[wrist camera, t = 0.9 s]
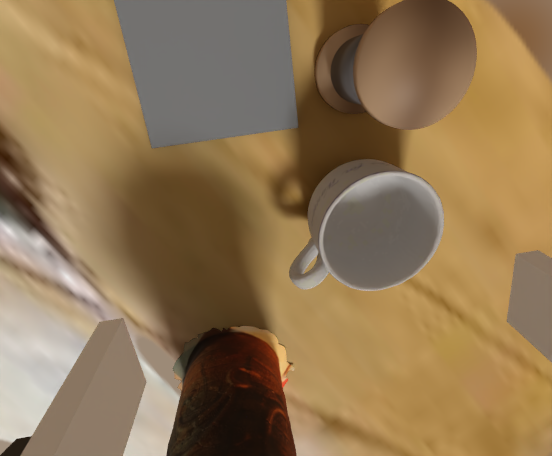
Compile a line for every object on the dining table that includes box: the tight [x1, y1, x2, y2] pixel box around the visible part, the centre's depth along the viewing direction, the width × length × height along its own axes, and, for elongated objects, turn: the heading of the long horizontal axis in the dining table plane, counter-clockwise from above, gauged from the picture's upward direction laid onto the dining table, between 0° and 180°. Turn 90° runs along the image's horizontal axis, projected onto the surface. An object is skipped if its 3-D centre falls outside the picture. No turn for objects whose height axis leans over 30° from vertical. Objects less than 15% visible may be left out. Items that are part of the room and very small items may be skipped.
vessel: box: [167, 326, 296, 456], centre depth 34 cm, size 14×14×20 cm
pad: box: [114, 0, 298, 148], centre depth 29 cm, size 13×16×1 cm
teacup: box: [289, 159, 444, 291], centre depth 33 cm, size 14×11×8 cm
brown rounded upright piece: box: [315, 0, 477, 130], centre depth 26 cm, size 7×7×12 cm
